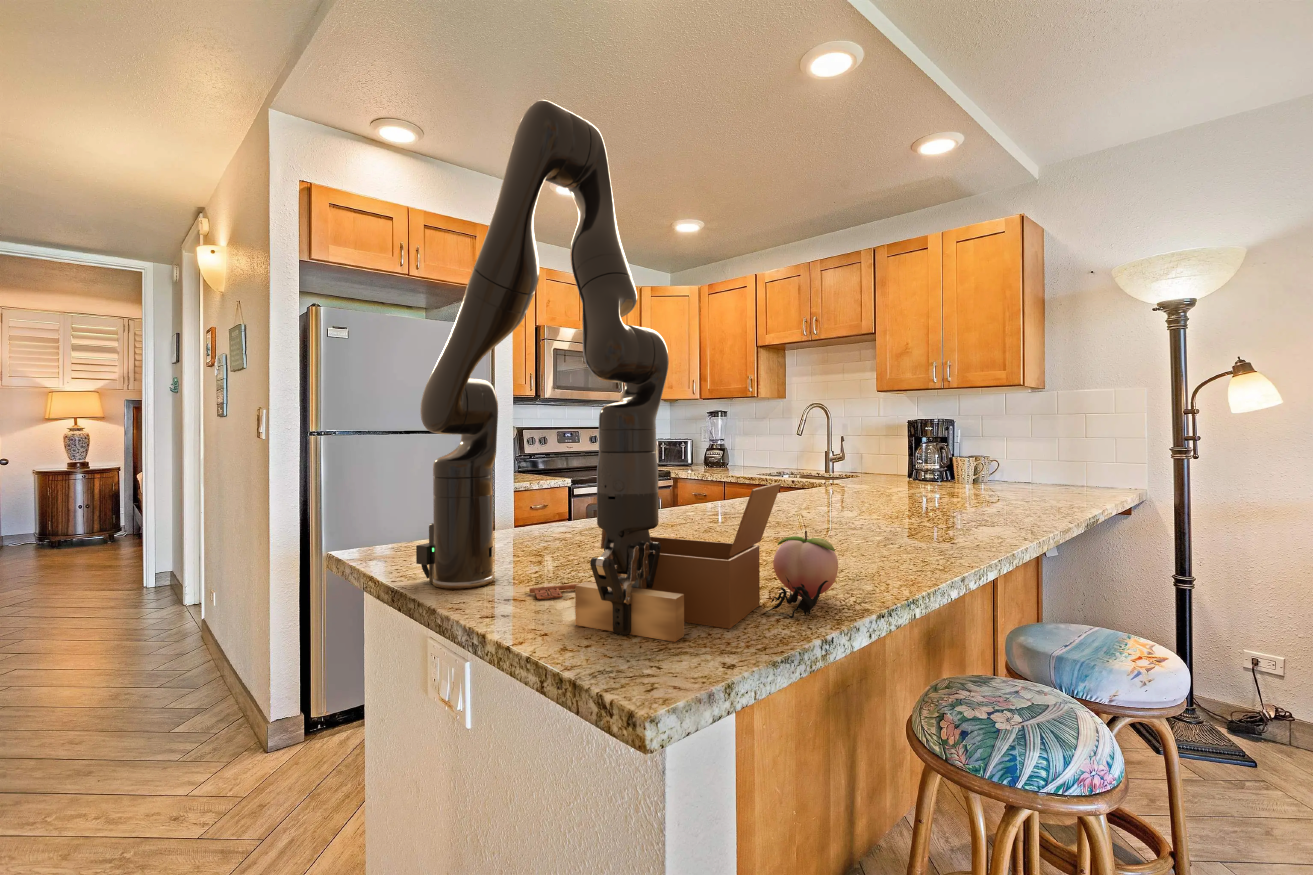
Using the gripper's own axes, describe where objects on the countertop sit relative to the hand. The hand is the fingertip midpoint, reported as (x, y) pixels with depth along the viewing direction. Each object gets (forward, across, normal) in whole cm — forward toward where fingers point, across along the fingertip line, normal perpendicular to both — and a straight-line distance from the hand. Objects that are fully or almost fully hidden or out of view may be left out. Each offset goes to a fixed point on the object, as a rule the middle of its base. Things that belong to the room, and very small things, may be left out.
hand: (628, 629), depth 76 cm
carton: (0, -12, +2) cm, 12 cm away
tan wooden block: (0, 0, 0) cm, 0 cm away
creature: (0, -16, +16) cm, 23 cm away
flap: (-13, -12, +12) cm, 22 cm away
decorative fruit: (0, -24, +16) cm, 29 cm away
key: (0, -13, -16) cm, 21 cm away
